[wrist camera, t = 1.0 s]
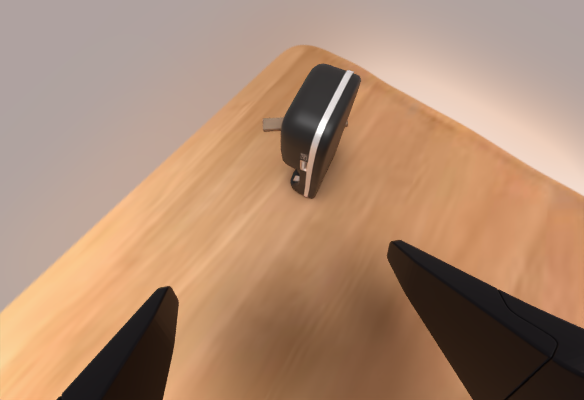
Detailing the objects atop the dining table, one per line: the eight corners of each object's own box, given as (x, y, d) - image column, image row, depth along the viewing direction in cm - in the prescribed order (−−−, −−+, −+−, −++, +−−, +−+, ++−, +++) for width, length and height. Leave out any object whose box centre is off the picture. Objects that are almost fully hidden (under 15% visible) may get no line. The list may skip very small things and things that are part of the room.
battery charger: (306, 137, 26) (316, 44, 15) (336, 150, 26) (368, 62, 15) (280, 188, 24) (269, 122, 14) (312, 202, 24) (327, 146, 13)
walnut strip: (345, 115, 27) (346, 113, 27) (347, 126, 27) (347, 124, 26) (263, 120, 27) (262, 118, 27) (263, 131, 27) (263, 129, 26)
